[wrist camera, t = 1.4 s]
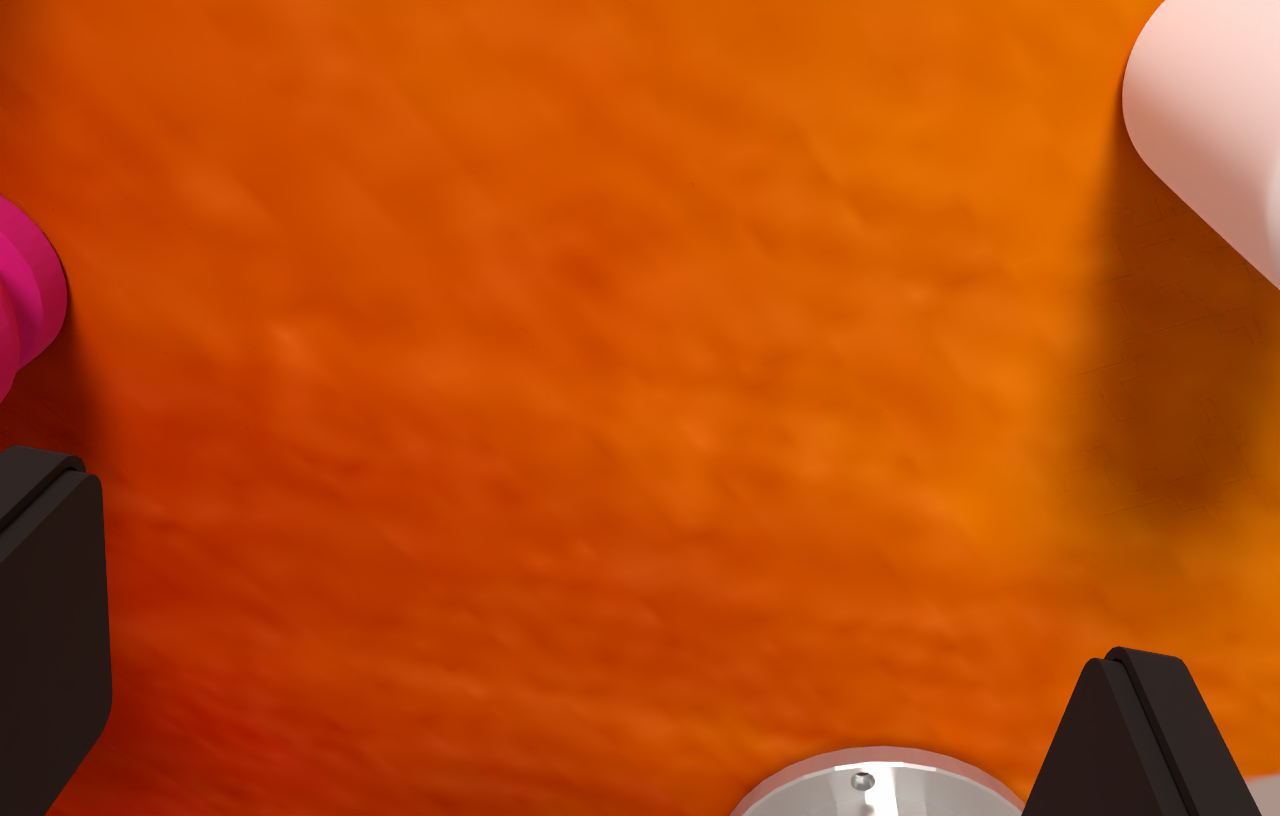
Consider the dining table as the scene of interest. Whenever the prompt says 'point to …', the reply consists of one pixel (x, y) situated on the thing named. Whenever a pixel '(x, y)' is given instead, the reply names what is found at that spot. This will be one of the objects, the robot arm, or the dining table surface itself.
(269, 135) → the dining table surface
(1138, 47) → the can
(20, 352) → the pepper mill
